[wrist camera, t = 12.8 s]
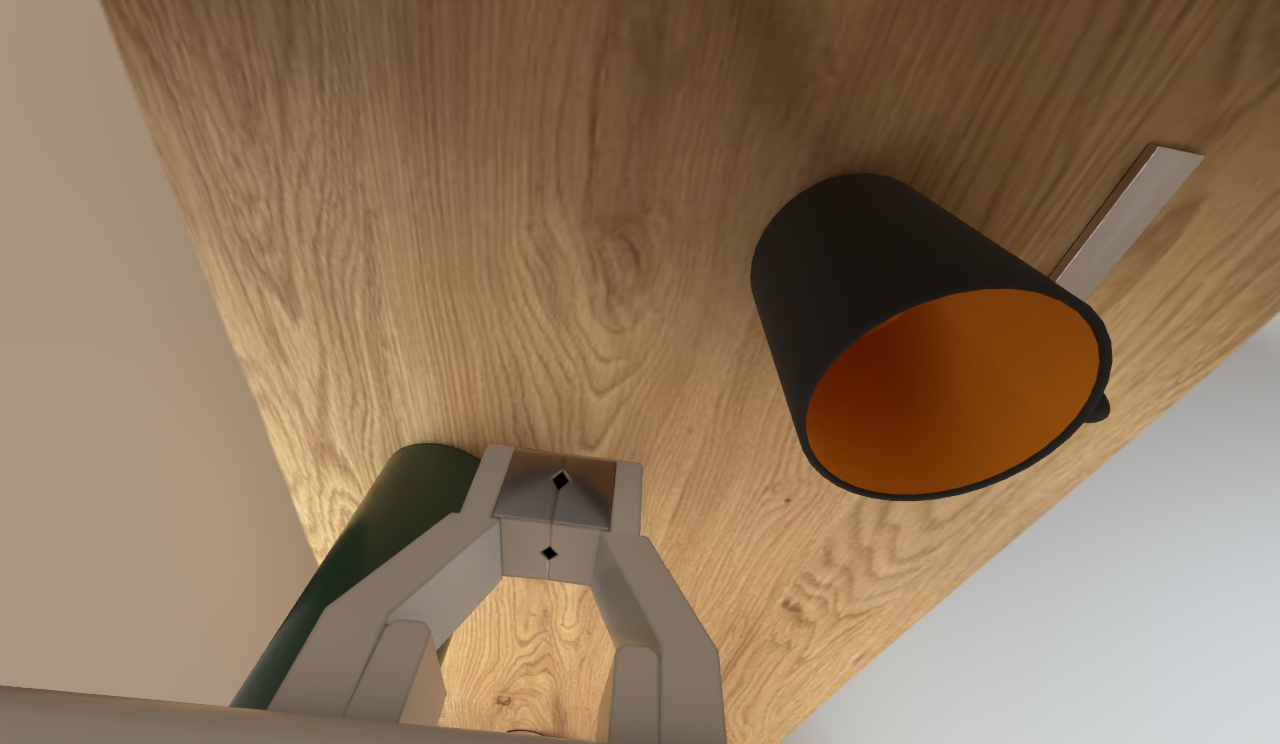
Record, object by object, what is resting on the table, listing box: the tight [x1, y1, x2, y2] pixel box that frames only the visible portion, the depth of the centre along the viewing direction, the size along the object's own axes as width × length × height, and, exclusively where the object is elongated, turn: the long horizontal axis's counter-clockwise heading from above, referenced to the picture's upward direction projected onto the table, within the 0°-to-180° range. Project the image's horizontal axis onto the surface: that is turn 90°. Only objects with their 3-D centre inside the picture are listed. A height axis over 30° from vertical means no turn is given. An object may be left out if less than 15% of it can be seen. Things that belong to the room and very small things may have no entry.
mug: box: [750, 174, 1112, 501], centre depth 18 cm, size 8×12×10 cm
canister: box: [229, 444, 481, 710], centre depth 25 cm, size 8×8×20 cm
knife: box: [1049, 144, 1205, 302], centre depth 23 cm, size 18×2×2 cm, turn 170°
